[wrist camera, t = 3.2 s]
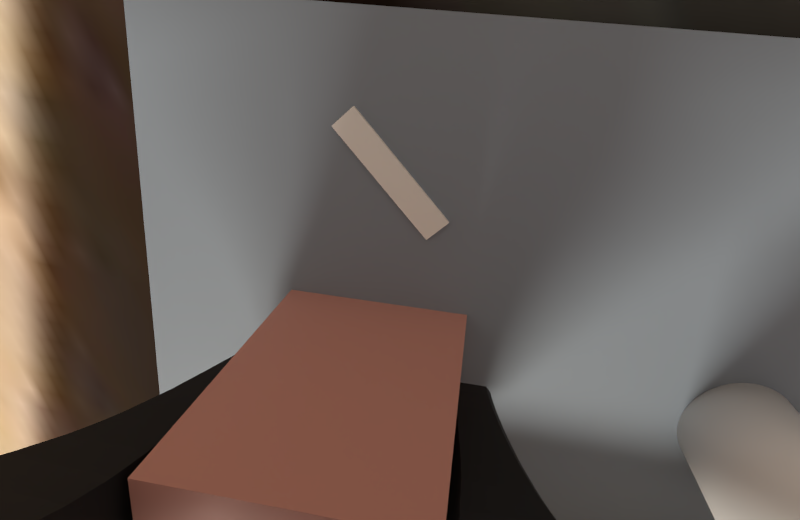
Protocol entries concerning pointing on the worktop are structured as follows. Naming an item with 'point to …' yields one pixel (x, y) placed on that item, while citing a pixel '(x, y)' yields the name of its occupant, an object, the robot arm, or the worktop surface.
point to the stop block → (317, 420)
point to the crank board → (500, 223)
